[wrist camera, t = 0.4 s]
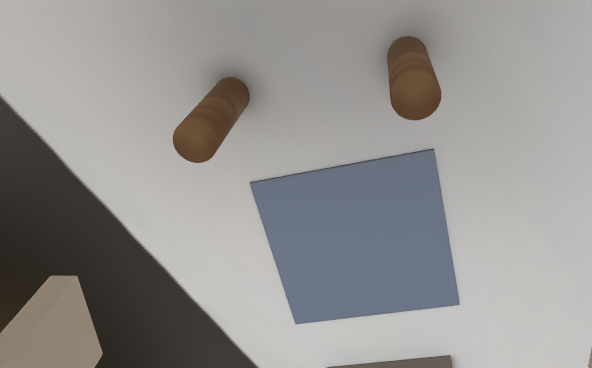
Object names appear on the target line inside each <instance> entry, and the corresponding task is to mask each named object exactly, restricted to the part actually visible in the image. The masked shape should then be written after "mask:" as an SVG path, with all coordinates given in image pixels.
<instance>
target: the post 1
mask: <svg viewBox="0 0 592 368" xmlns="http://www.w3.org/2000/svg"><path fill="white" fill-rule="evenodd" d="M248 102H249V91H248V89H247V87H246V86H245V84H244V83H243V82H241V81H240V80H238V79H235V78H225V79H222V80H221V81H219V82H218V83H217V85H216V86H215V87H214V88H213V89H212V90H211V91H210V92H209V93H208V94H207V95H206V96H205V98H204V99H203V100H202V101H201V102H200V103H199V104H198V105H197V106H196V107H195V108H194V109H193V111H192V112H191V113H190V114H189V115H188V116H187V117H186V118H185V119H184V120H183V121H182V122H181V124H180V125H179V126H178V127H177V128H176V130H175V131H174V134H173V144H174V147H175V149H176V151H177V152H178V153H179V155H180V156H182V157H183V158H184V159H186V160H188V161H190V162H195V163H201V162H205V161H207V160H209V159H210V158H212V157H213V155H214V154H215V152H216V151H217V149H218V148H219V146H220V145H221V143H222V142H223V140H224V139H225V137H226V136H227V134H228V133H229V131H230V130H231V128H232V127H233V125H234V124H235V122H236V121H237V119H238V118H239V116H240V115H241V113H242V112H243V110H244V109H245V107H246V106H247V104H248Z"/></svg>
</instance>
